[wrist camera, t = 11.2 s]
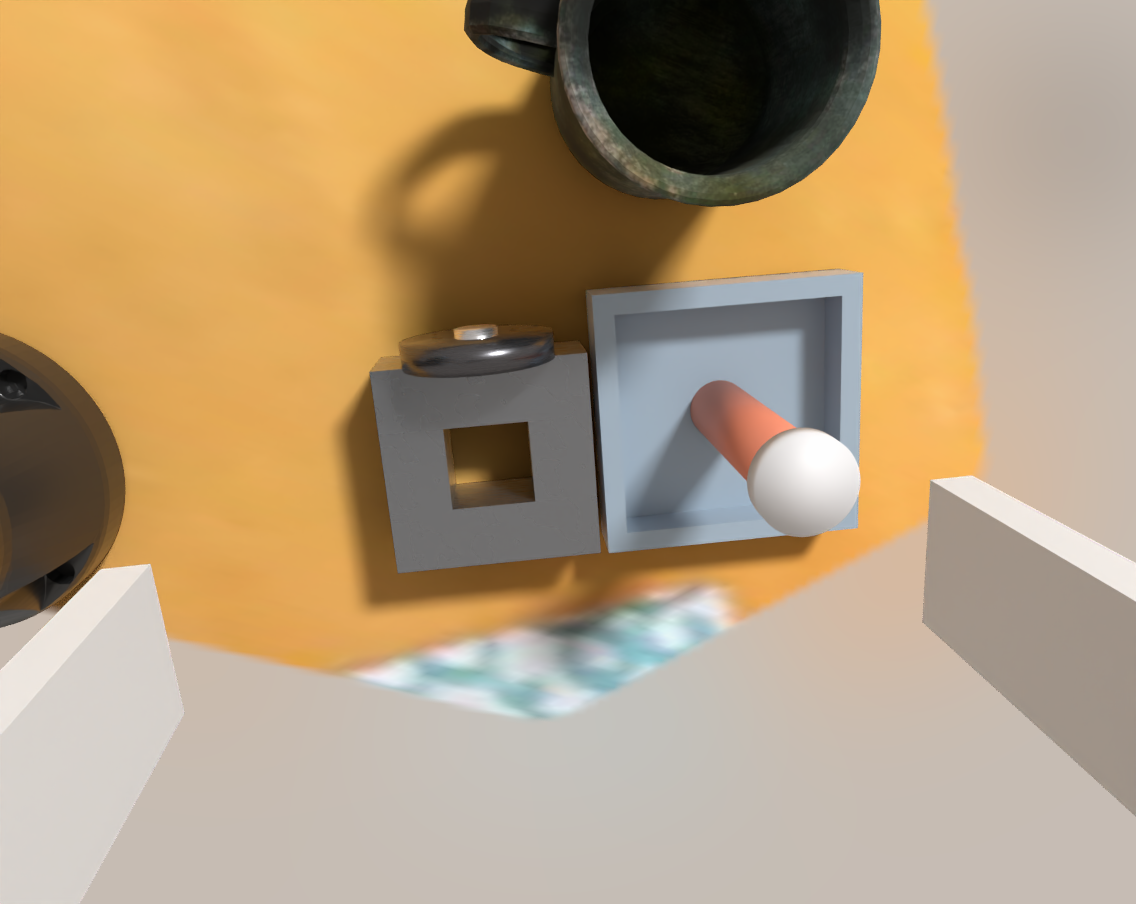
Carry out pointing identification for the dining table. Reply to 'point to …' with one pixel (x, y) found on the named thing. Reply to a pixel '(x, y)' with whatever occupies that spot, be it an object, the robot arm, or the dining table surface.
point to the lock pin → (779, 461)
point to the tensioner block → (476, 398)
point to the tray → (699, 356)
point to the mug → (693, 86)
